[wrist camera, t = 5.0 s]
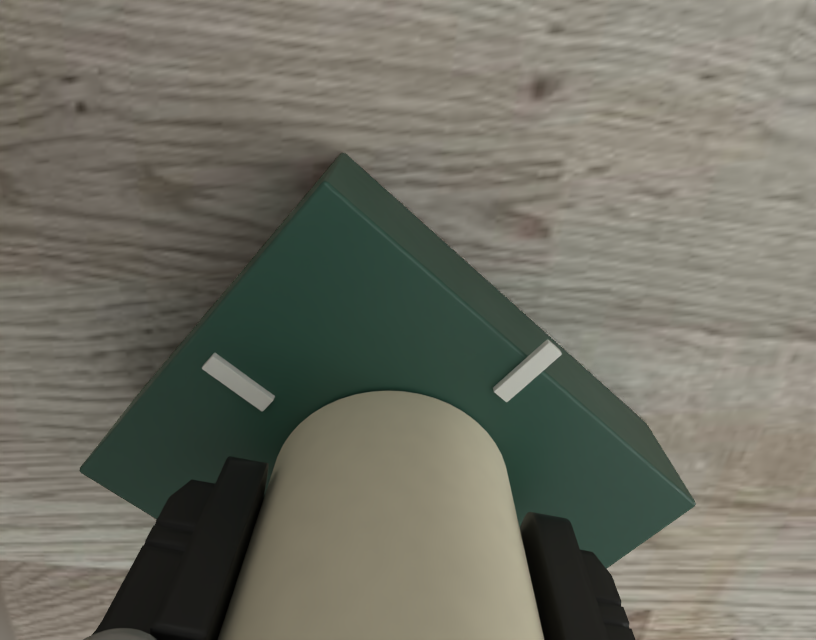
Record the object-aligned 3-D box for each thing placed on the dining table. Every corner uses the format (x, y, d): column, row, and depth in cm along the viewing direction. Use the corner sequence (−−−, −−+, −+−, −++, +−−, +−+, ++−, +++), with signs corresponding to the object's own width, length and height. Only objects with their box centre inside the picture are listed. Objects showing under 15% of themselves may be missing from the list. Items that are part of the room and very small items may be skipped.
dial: (295, 364, 11) (181, 676, 6) (540, 419, 12) (656, 758, 6) (256, 553, 13) (143, 925, 8) (469, 594, 14) (508, 972, 8)
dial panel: (127, 407, 15) (60, 491, 12) (358, 132, 12) (342, 157, 10) (419, 601, 18) (420, 707, 15) (663, 411, 15) (722, 496, 12)
